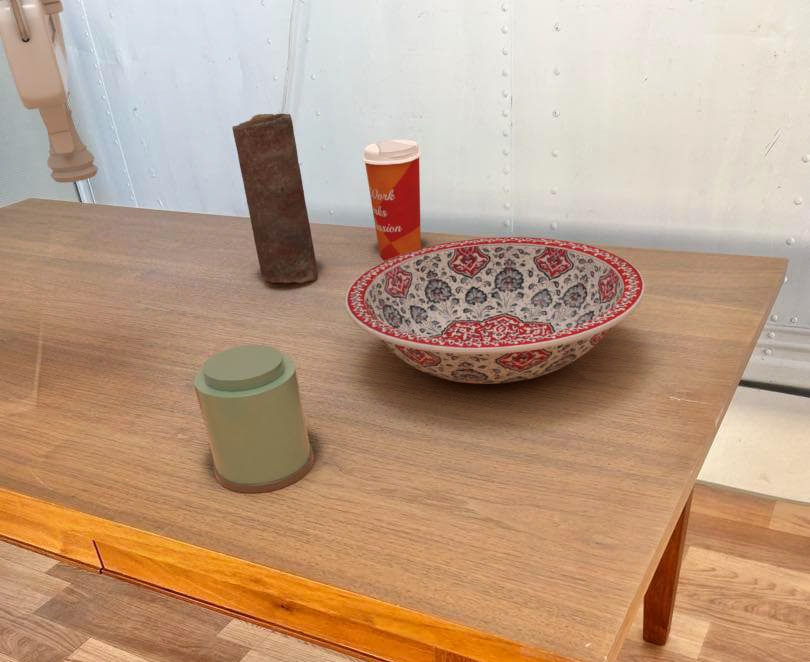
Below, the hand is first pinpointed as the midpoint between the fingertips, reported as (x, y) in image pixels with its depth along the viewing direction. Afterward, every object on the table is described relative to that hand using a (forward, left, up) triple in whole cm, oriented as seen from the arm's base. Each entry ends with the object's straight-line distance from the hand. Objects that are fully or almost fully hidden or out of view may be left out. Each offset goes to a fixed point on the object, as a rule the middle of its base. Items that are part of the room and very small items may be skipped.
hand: (66, 146), depth 79 cm
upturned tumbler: (+10, -25, -23) cm, 36 cm away
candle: (+21, +20, -23) cm, 37 cm away
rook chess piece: (0, 0, -3) cm, 3 cm away
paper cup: (+37, +22, -23) cm, 49 cm away
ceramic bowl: (+36, -15, -23) cm, 46 cm away
